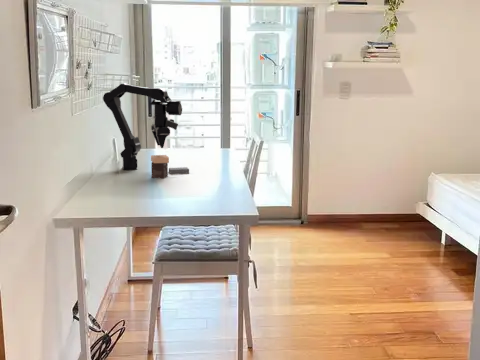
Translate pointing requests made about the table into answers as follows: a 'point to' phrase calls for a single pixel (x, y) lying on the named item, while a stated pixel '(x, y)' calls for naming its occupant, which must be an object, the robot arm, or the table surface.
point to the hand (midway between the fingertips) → (160, 146)
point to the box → (159, 170)
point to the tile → (159, 159)
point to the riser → (178, 170)
